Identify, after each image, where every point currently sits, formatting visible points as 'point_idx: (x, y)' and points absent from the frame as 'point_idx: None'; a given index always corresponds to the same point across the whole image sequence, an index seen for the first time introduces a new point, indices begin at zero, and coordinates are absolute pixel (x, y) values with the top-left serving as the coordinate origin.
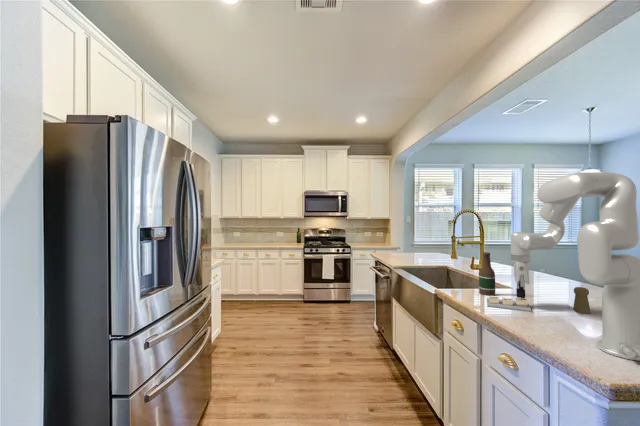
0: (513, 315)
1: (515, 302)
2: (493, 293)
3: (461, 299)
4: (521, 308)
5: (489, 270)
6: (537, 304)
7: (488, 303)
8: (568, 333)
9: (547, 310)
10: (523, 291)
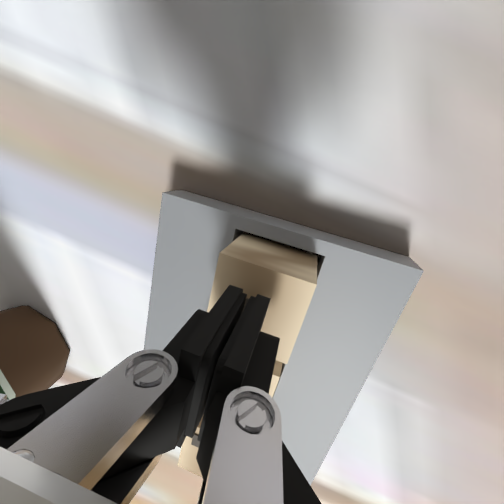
0: (422, 384)
1: (189, 289)
2: (26, 343)
3: (147, 485)
4: (359, 324)
5: None
6: (91, 73)
7: None
8: None
9: (246, 50)
10: (247, 366)
